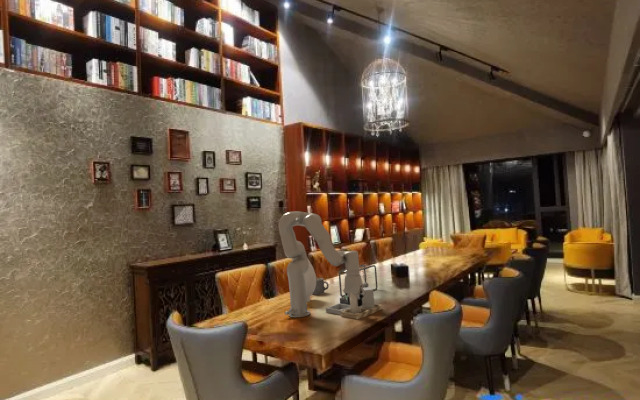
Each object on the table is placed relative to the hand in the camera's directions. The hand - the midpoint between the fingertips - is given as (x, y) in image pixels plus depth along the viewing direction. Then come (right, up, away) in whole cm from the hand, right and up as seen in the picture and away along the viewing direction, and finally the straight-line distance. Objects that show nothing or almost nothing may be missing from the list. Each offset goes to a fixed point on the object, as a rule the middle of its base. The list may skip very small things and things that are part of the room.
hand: (355, 304), depth 226 cm
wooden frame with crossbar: (+4, -5, +4) cm, 8 cm away
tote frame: (-8, -6, +10) cm, 14 cm away
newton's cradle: (+8, -6, +52) cm, 53 cm away
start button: (-2, -5, +21) cm, 22 cm away
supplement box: (+8, -5, +8) cm, 13 cm away
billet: (0, -4, 0) cm, 4 cm away
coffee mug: (-20, -8, +62) cm, 65 cm away
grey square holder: (-2, -6, +21) cm, 22 cm away
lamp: (-29, -8, +43) cm, 53 cm away
